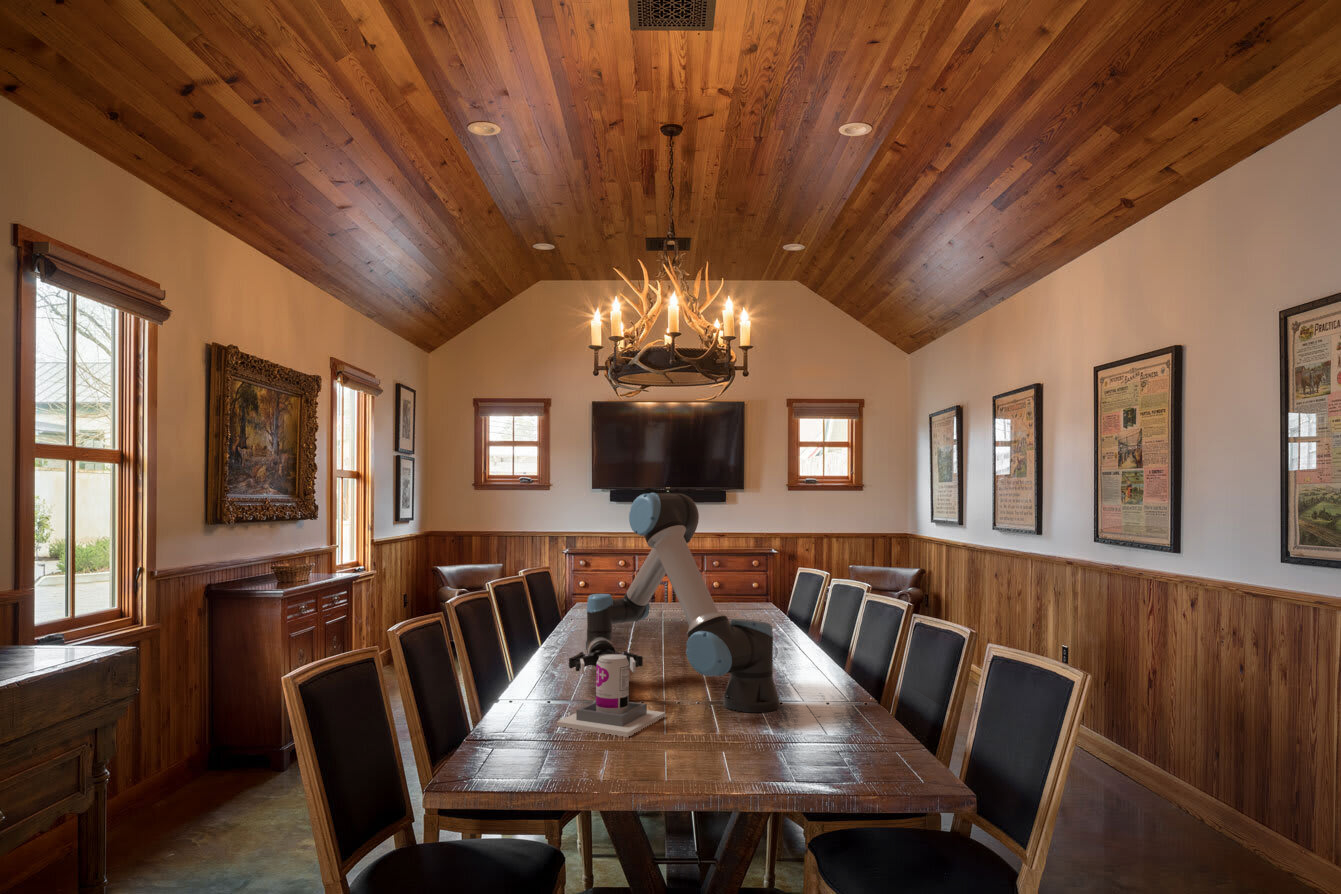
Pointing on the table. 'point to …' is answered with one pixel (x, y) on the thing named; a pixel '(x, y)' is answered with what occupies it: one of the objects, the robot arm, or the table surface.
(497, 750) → the table surface
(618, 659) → the supplement can
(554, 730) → the table surface
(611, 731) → the socket board
